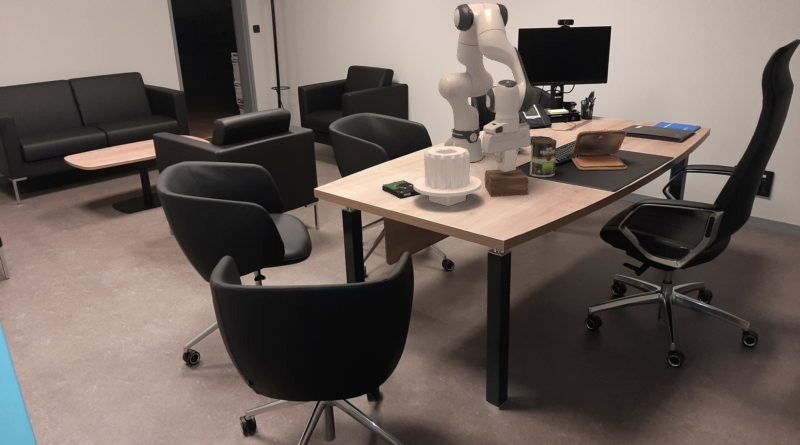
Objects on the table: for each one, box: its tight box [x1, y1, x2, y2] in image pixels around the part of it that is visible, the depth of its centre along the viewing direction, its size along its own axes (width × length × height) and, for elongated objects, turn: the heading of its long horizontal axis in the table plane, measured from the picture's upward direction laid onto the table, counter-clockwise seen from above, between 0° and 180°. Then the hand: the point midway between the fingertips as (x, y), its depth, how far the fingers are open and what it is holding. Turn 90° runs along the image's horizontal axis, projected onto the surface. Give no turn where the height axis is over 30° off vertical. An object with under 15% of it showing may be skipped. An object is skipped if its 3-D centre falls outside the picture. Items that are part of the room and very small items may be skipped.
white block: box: [496, 149, 517, 172], centre depth 238 cm, size 5×5×8 cm
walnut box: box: [484, 168, 529, 198], centre depth 241 cm, size 13×14×7 cm
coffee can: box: [529, 137, 557, 178], centre depth 259 cm, size 10×10×14 cm
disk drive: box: [381, 179, 422, 200], centre depth 246 cm, size 10×3×15 cm
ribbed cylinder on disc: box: [412, 145, 482, 207], centre depth 230 cm, size 25×25×19 cm
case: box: [571, 129, 628, 171], centre depth 269 cm, size 20×21×16 cm
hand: (506, 161), depth 238 cm, fingers closed on white block, 5 cm apart
